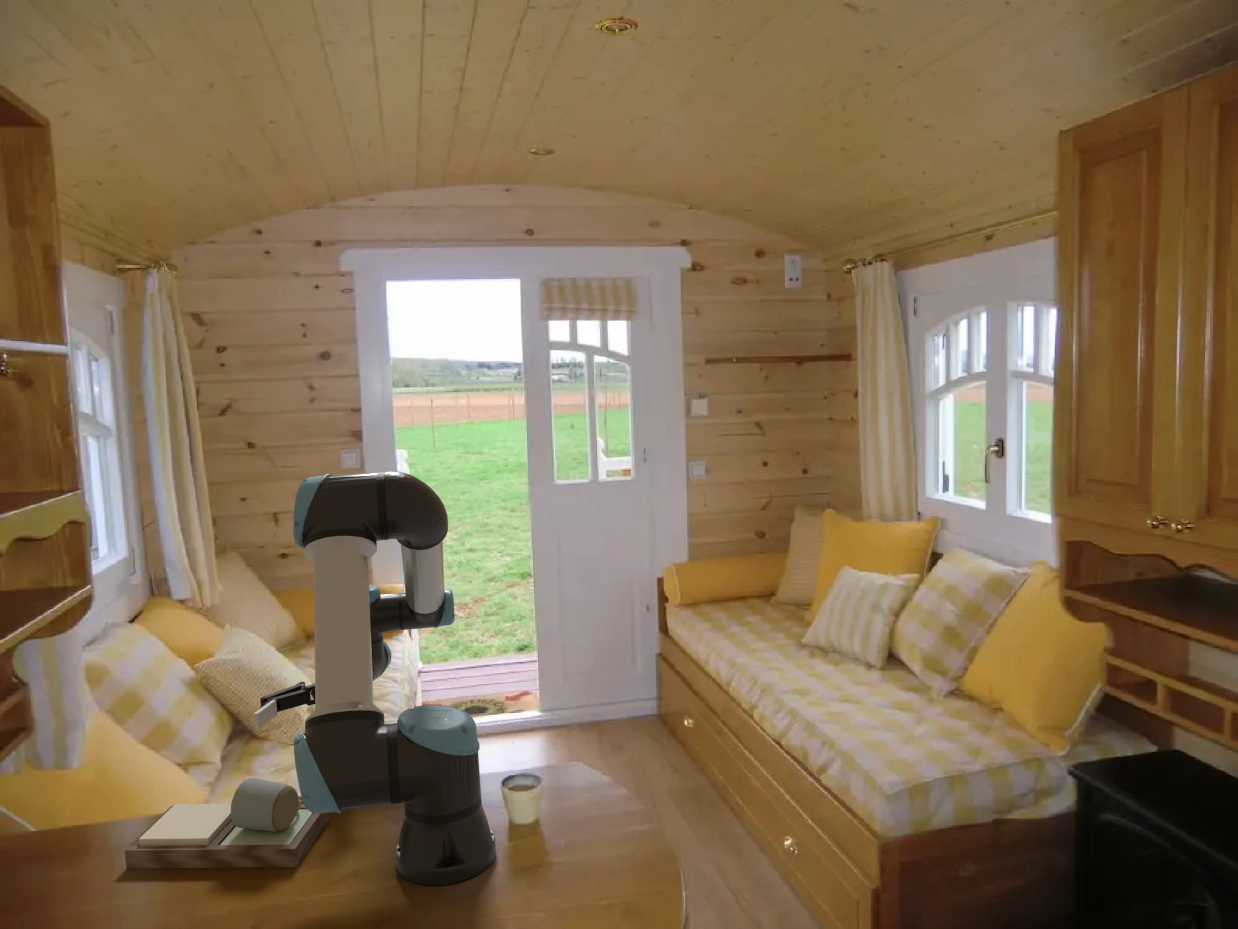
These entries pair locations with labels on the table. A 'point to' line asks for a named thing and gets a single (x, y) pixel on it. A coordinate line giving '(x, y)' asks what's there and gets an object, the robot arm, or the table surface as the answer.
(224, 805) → the cream key
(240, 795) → the ceramic mug
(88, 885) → the table surface
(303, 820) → the sage key
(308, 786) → the robot arm
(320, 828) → the key pad frame
